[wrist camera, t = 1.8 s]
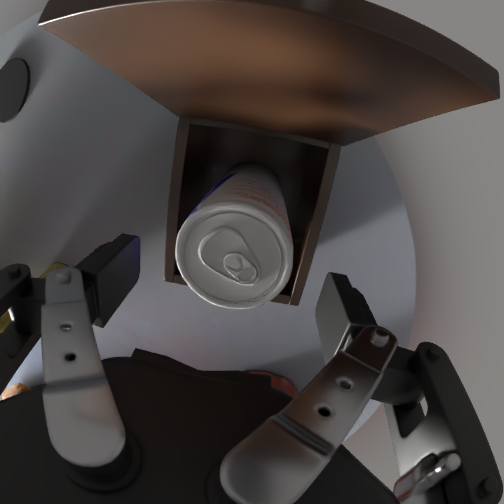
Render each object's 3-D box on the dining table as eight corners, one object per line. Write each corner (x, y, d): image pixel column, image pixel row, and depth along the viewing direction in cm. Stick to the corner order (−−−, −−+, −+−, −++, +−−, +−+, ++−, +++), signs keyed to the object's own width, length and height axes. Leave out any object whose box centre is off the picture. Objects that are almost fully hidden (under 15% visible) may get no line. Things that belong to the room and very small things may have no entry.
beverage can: (225, 156, 26) (177, 190, 12) (286, 167, 26) (308, 213, 12) (217, 214, 28) (169, 300, 14) (274, 224, 28) (280, 320, 14)
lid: (501, 99, 4) (499, 70, 4) (35, 25, 4) (47, -1, 3) (343, 146, 17) (345, 134, 17) (176, 116, 16) (179, 104, 16)
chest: (291, 258, 30) (298, 306, 22) (190, 239, 30) (163, 281, 22) (319, 136, 25) (342, 140, 17) (207, 116, 25) (180, 111, 17)
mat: (-2, 64, 21) (-5, 64, 20) (35, 52, 21) (33, 52, 21) (-11, 124, 24) (-13, 124, 24) (25, 120, 25) (22, 120, 24)
